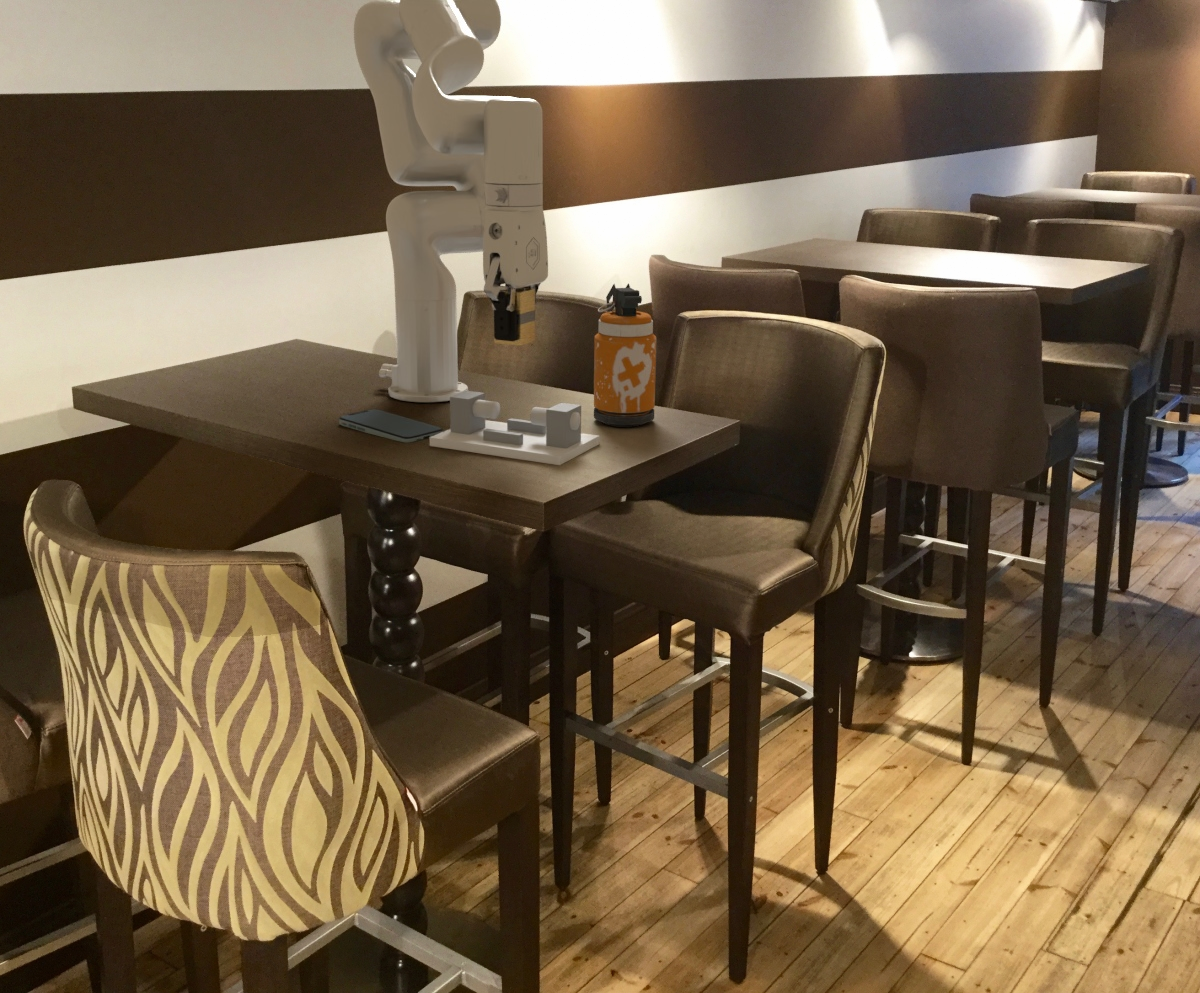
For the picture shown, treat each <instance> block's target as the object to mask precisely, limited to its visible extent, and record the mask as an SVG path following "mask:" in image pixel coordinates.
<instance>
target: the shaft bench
mask: <svg viewBox="0 0 1200 993" xmlns="http://www.w3.org/2000/svg"><path fill="white" fill-rule="evenodd" d="M500 414H501V405H500V403H499V402H498V401H494V400H493V401H491V400H486V393H485V392H480V391H474V390H473V391H472V390H468V391H464V392H461V393H459V394H456V395H453V396H451V397H450V401H449V416H450V417H449V421H450V422H449V424H450V425H449V426H450V427H449V429H446V430H443V432H441V433H439V434H436V435H434V436H431V437H429V438H428V439H429V446H430V447H435V448H442V449H447V450H448V449H450V450H455V451H461V452H467V453H469V452H470V453H476V454H480V455H481V454H482V455H487V456H488V455H489V456H494V457H495V456H496V457H502V458H507V459H515V460H522V461H528V462H529V461H530V462H537V463H543V464H548V465H555V466H561V465H563V464H565V463H566V462H569V461H570V460H572V459H574V458H577V457H579V456H580V455H582V454H584V453H585V452H587V451H589V450H591V449H593V448H595V447H597V446H598V445H600V438H601V437H600V436H601V435H598V434H597V435H596V434H590V433H582V405H581V404H576V403H575V404H574V403H568V402H566V403H565V402H560V403H558V404H555V405H553V406H551V407H549V408H547V407H546V408H545V407H540V406H539V407H538V406H534V407H533V408H532V409H531V411H530V414H529V420H525V419H520V418H519V419H518V418H513V417H512V418H509V419H507V420H506V422H502V421H496V420H497V419H498V418H499V417H500V416H499V415H500ZM487 419H491V420H487ZM494 420H495V421H494Z"/></svg>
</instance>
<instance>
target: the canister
mask: <svg viewBox="0 0 1200 993" xmlns="http://www.w3.org/2000/svg"><path fill="white" fill-rule="evenodd" d="M611 298H612V301H611ZM605 299H606V304H603V305H601V306H600V307H599V308H598V309H597V311H598V312H597V313H602V314H601V315H600V317H599V319H598V333H596V334H595V335H594V349H593V350H594V359H593V360H594V361H593V362H594V364H593V365H594V368H593V372H594V373H593V407H594V409H593V419H595V420H596V421H598V422H602V423H603V424H604V423H605V425H607V426H610V427H617V428H619V427H620V428H633V427H632V426H634V427H639V425H640V426H643V425H644V424H646V423H649V422H652V421H653V420H654V419H655V409H654V408H655V405H656V404H655V403H656V402H655V401H656V367H657V366H656V365H657V363H656V362H657V360H656V359H657V336H656V335H655V334H654V333H653V332H654V320H653V319H652V317H651V315H650V314H649V313H648V312H643V311H637V308H639V304H642V301H643V298H642V295H640V290H637V289H633V288H631V285H630V284H629V283H627V285H625V287H616V284H615V283H613V284H612V286H611V287H610V290H609V291H608V293H607V295H606V298H605ZM610 301H611V302H610ZM605 307H606V308H605ZM603 308H605V309H603ZM602 309H603V310H602ZM642 424H643V425H642Z"/></svg>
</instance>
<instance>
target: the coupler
mask: <svg viewBox="0 0 1200 993" xmlns="http://www.w3.org/2000/svg"><path fill="white" fill-rule="evenodd" d="M504 286H509V284H506V283H505V284H504ZM501 292H504V294H505V295H506V297H507V294H508V291H501ZM513 311H517V340H516V341H504V340H496V339H495V338H493V340H494V344H499V345H500V344H501V345H502V344H503V345H508V346H509V345H511V346H517V347H518V346H519V347H520V346H524V345H527V344H531V343H532V342H536V304H535V289H529V288H516V293H515V304H514V310H513Z"/></svg>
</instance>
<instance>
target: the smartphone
mask: <svg viewBox="0 0 1200 993" xmlns="http://www.w3.org/2000/svg"><path fill="white" fill-rule="evenodd" d="M338 420H339V425H340V426H342V427H344V428H348V429H352V430H355V431H359V432H363V433H366V434H369V435H375V436H378V437H382V438H385V439H389V440H392V441H397V442H400V443H413V442H418V441H421V440H425V439H429V437H431V436H434V435H436V434H439V433H441V432H444V429H443V428H442V427H441V426H440V427H439V426H437V425H433V424H429V423H426V422H422V421H420V420H416V419H412V418H408V417H405V416H402V415H398V414H395V413H392V412H388V411H385V410H382V409H377V408H376V409H375V408H374V409H373V408H372V409H368V410H367V409H366V410H362V411H357V412H353V413H352V412H351V413H347V414H344V415H341V416H339V418H338Z"/></svg>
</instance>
